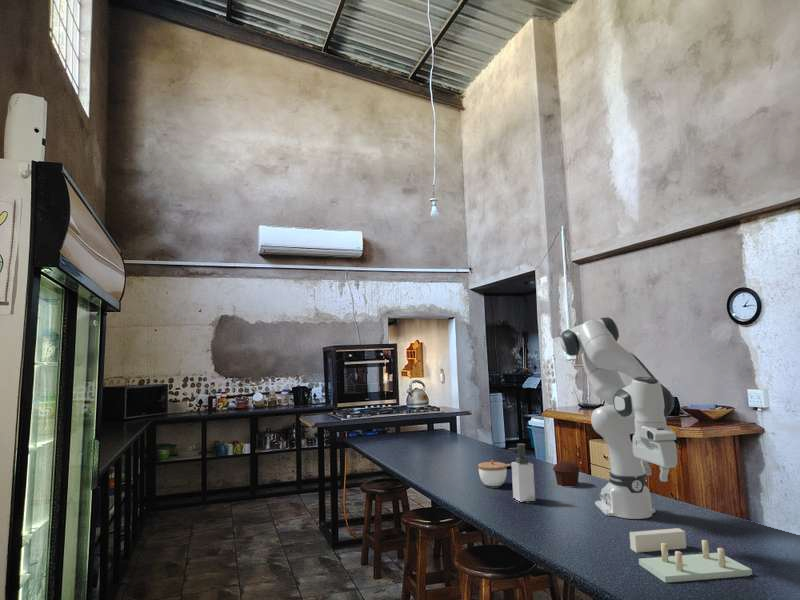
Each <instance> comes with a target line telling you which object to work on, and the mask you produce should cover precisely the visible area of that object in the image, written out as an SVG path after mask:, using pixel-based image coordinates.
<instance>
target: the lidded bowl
mask: <svg viewBox="0 0 800 600" xmlns="http://www.w3.org/2000/svg"><path fill="white" fill-rule="evenodd" d="M477 465H478V466H477V467H478V474H479V478H480V480H481V482H482V483H483V484H484V486H485V485H489V486H500V485H501V486H502V485H503V484H504V483H505V481H506V479H507V473H508V472H507V471H508V470H507V468H508V466H507V465H506V463H504V462H500V461H494V460H493V459H491V460H490V461H483V462H480V463H478V464H477ZM501 486H500V487H501Z"/></svg>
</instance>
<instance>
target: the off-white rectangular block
mask: <svg viewBox="0 0 800 600" xmlns="http://www.w3.org/2000/svg"><path fill="white" fill-rule="evenodd" d="M686 538H687V537H686V531H685V530H683V529H681V528H679V527H675V528H665V529H664V528H662V529H653V530H652V529H651V530H650V529H649V530H641V531H629V542H630V543H629V544H630V547H629V548H630V550H632V551H633V552H635V553H636V554H637V553H645V552H646V553H647V552H657V551H658V552H659V551H661V543H666V544H667V547H668V551H669V550H671V551H672V550H680V549H682V550H683V549H687V539H686Z"/></svg>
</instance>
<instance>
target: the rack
mask: <svg viewBox="0 0 800 600" xmlns="http://www.w3.org/2000/svg"><path fill="white" fill-rule="evenodd" d="M701 548H702V549H701V550H702V553H696V554H685V555H684V554H683V552H681V551H679V550H675V551H674V555H673V556H672V555H670V556H669V550H668V547H667V544H666V543H661V550H660V551H661V556H658V557H646V558H645V557H644V558H643V557H642V558H638V565H640V566H641V568H643V569H645V570H646V571H648V572H649V573H651V574H652V575H654V576H655V577H656V578H658V579H659V580H661V581H662V582H664V583H665V584H666V583H667V584H669V583H678V582H679V583H680V582H681V583H682V582H688V581H689V582H691V581H692V582H693V581H701V580H713V579H714V580H715V579H727V578H728V579H729V578H737V577H739V578H741V577H750V575H752V576H753V570H752V569H751V568H750V567H748V566H747V565H744V564H742V563H740V562H738V561H737V560H734V559H732V558H730V557H728V556H727V555H726V554H725V553H726V552H725V549H724V548H722V547H717V548H716V549H717V552H710V547H709V540H706V539H701Z"/></svg>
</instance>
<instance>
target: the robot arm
mask: <svg viewBox="0 0 800 600" xmlns="http://www.w3.org/2000/svg"><path fill="white" fill-rule="evenodd" d="M619 337H620V330H619V327H618V325H617V324H616V322H615V320H614V319H613V318H611V317H608V316H607V317H600V318H599V319H590V320H586V321H584V322H582V323H581V324H579V325H577V326H574V327H572V328H570V329H568V328H567V329H566V330H564V331H562V332H561V333H560V336H559V339H560V340H559V343H560V347H561V349H562V351H564V352H565V353H566V355H568V356H570V357H572V356H573V357H574V356H579V355H581V360H582V361H581V362H582V365H583V368H584V371H585V375H586V377H587V379H588V382H589V383H590V386H591V388H592V390H593V393H594V394H595V396H596V397H597V398H599V399H600V400H602V401H603V402H605V403H607V404H605V405H603V406H600V407H598V408H595V409H594V410H593V411H592V413H591V416H590V423H591V426H592V428H593V430H594V431H595V432H596V433H597V434H598V435H600V436H601V437H602V438H603V440H604V442H605V444H606V446H607V450H608V453H609V461H610V471H608V476H609V477H608V483H607V484H606V485H605V486H604V487H602V488H601V490H600V492H599V498H600V500H596V501H594V504H595V506H596V507H597V508H598V509H599V510H600V511H601V512H602V513H603V514H604V515H605V516H610V517H618V518H623V519H628V520H629V519H630V520H631V519H634V520H640V519H648V518H651V517H653V514H655V513H656V508H653V504H652V497H651V491H650V489H649V488H648V487H647V477H646V476H652V469H651V467H650V464H649V463H651V464H653V465H656V466H659V470H660V474H659V475H658V477H659V481H660V482H662V483H663V482H665V483H667V482H668V481H669V478H668V477H669V471H670V468H671V469H672V468H676V467H677V465H678V449H677V445H676V442H675V441H676V440H677V434H676V432H675V431H673V430H672V429H671V428H670V427H669V426H668V425H667V419H666V417H668V416H669V415H670V414H671V413H672V411H673V409H674V408H675V398H674V396H673V394H672V392H671V391H670V390H669V389H668V388H667V387H666V386H665V385H663V384H662V383H660V381H659V379H657V378H656V376H654V375H653V373H651V372H650V370H649V369H648V368H647V367H646V366H645V364H644V363H643V362H642V361H641V360H640V359H639V358H638V357H637V356H636V355H635V354H633V353H632V352H630V351H628V350H627V349H625V348H624V347H623V346H622V345H621V344H620V343H619V342H618V340H619ZM619 373H622V374H625V375H627V376H629V377H630V378H631V383H630V384H628V385H625V383H624V381H623V379H622V377H621V375H620V374H619ZM631 435H632V440H631Z"/></svg>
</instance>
